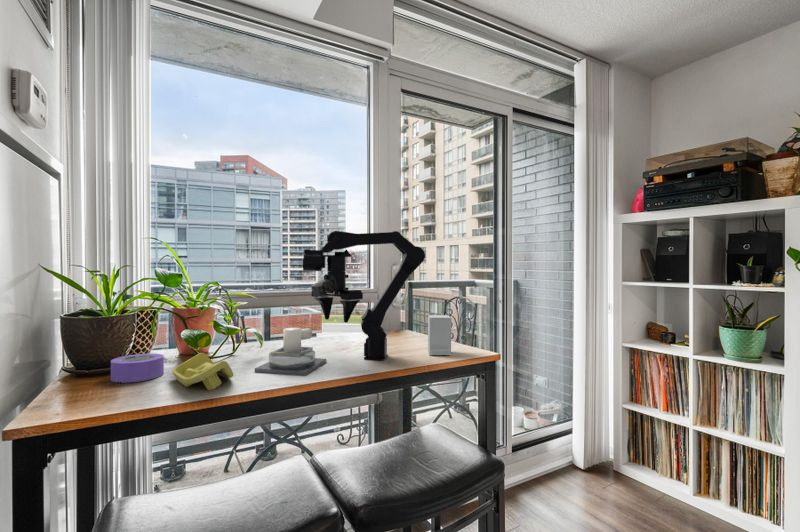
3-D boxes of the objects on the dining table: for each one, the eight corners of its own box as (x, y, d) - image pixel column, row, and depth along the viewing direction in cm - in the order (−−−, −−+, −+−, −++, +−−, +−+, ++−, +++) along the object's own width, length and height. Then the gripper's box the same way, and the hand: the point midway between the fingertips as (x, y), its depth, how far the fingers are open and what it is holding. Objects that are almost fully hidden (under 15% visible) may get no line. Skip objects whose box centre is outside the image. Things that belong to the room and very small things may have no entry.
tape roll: (98, 382, 102) (99, 362, 102) (133, 370, 113) (133, 352, 113) (143, 383, 101) (143, 363, 101) (173, 371, 112) (173, 353, 112)
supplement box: (451, 356, 133) (451, 317, 133) (428, 356, 133) (429, 317, 133) (449, 351, 140) (449, 314, 140) (427, 351, 140) (427, 314, 140)
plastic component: (170, 370, 105) (207, 348, 111) (184, 393, 107) (220, 371, 113) (188, 382, 90) (229, 356, 96) (204, 409, 92) (244, 382, 98)
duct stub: (326, 362, 124) (326, 345, 124) (305, 375, 109) (305, 356, 109) (281, 359, 127) (281, 343, 127) (254, 372, 112) (254, 354, 112)
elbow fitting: (289, 355, 114) (289, 331, 114) (279, 353, 118) (280, 329, 117) (313, 351, 120) (314, 327, 120) (304, 348, 124) (304, 325, 124)
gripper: (297, 271, 128) (297, 320, 128) (335, 272, 115) (335, 327, 115) (325, 270, 136) (325, 317, 136) (364, 271, 124) (363, 323, 124)
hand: (336, 320), depth 128 cm, fingers open, 9 cm apart
